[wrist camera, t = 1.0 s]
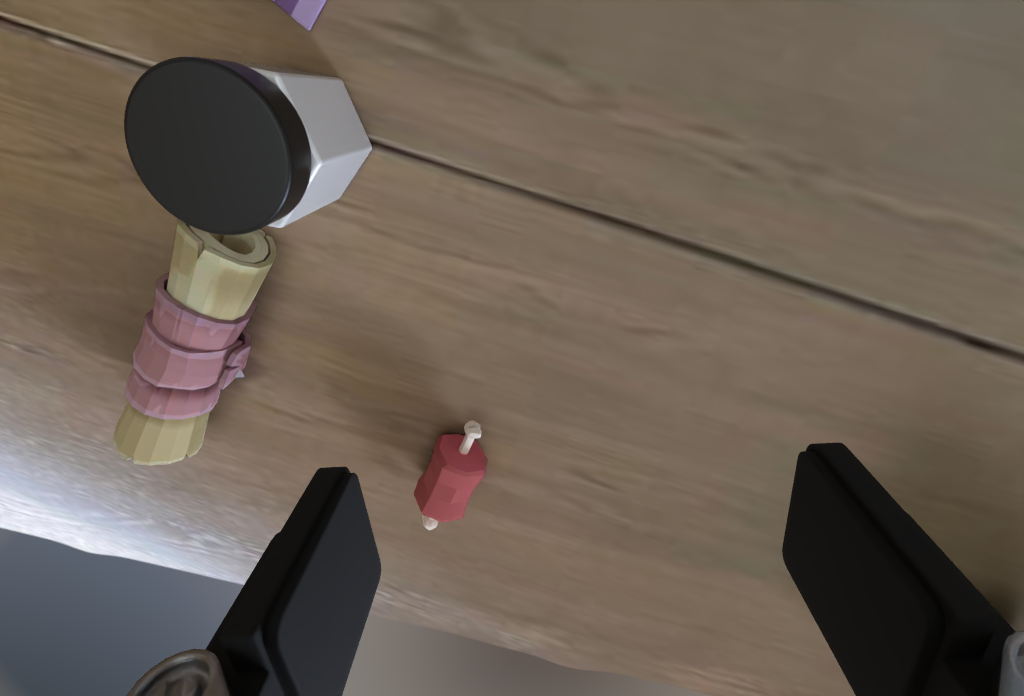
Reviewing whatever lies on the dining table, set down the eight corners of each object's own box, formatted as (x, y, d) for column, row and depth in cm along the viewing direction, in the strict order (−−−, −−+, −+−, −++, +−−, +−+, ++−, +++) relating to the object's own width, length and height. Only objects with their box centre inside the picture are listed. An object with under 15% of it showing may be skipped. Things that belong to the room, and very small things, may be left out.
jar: (221, 90, 35) (77, 88, 24) (327, 41, 33) (224, 14, 23) (290, 218, 38) (192, 265, 28) (389, 178, 37) (325, 213, 26)
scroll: (233, 453, 46) (321, 269, 38) (146, 489, 39) (231, 275, 32) (181, 396, 48) (255, 209, 40) (88, 421, 41) (155, 203, 33)
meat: (444, 400, 44) (451, 439, 40) (497, 411, 46) (509, 450, 42) (400, 500, 49) (402, 544, 45) (450, 507, 51) (456, 549, 47)
